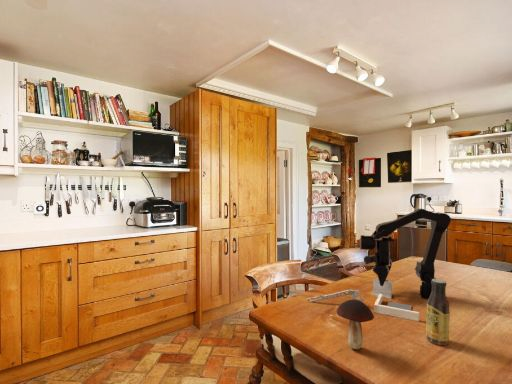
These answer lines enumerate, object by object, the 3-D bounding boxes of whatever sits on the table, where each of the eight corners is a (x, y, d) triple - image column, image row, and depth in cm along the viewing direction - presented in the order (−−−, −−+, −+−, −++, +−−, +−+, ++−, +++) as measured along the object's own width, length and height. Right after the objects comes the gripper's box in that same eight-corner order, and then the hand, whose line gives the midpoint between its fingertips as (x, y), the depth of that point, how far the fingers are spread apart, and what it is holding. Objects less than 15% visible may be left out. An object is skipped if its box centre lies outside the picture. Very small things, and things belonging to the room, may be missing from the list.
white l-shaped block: (419, 307, 118) (419, 300, 118) (418, 321, 105) (418, 313, 105) (379, 300, 126) (379, 293, 126) (374, 312, 113) (374, 304, 113)
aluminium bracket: (392, 294, 133) (392, 281, 133) (390, 298, 128) (390, 284, 128) (374, 291, 137) (374, 278, 137) (372, 295, 132) (371, 281, 132)
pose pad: (411, 306, 119) (411, 305, 119) (410, 316, 109) (410, 315, 109) (388, 302, 124) (388, 301, 124) (384, 311, 114) (384, 310, 114)
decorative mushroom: (381, 350, 86) (381, 301, 86) (359, 363, 79) (359, 309, 79) (350, 335, 95) (350, 291, 95) (328, 346, 88) (328, 298, 88)
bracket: (364, 302, 118) (352, 280, 119) (317, 321, 122) (307, 299, 123) (362, 299, 121) (351, 278, 122) (317, 318, 125) (307, 297, 126)
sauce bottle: (421, 336, 94) (421, 277, 94) (439, 336, 94) (439, 276, 95) (435, 347, 87) (435, 283, 87) (454, 346, 88) (454, 283, 88)
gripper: (368, 245, 147) (368, 275, 146) (361, 252, 131) (361, 285, 131) (392, 247, 141) (392, 279, 141) (387, 254, 125) (387, 290, 125)
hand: (383, 283), depth 134 cm, fingers open, 9 cm apart
